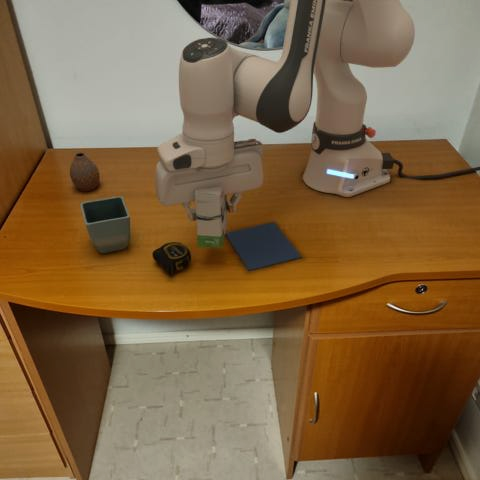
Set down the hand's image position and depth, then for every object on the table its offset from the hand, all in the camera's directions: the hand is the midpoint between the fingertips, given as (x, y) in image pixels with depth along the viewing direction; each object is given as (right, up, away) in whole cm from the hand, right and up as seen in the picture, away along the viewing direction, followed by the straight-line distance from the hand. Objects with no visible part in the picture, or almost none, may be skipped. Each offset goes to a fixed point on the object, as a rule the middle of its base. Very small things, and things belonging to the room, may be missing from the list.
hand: (212, 214), depth 94 cm
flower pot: (-22, -5, +10) cm, 25 cm away
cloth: (+10, -4, +10) cm, 15 cm away
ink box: (0, -4, +3) cm, 5 cm away
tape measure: (-8, -10, +5) cm, 14 cm away
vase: (-33, +13, +28) cm, 45 cm away
